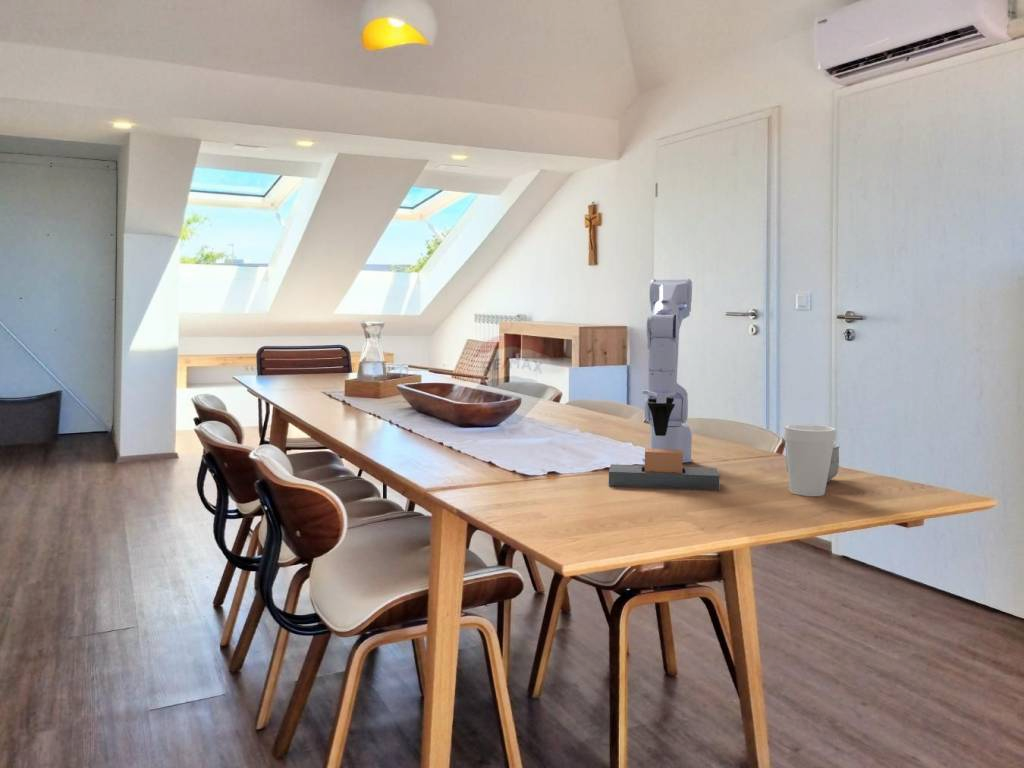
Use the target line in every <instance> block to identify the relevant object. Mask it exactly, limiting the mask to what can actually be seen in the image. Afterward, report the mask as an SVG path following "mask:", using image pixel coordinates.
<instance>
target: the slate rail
mask: <svg viewBox="0 0 1024 768" xmlns="http://www.w3.org/2000/svg"><path fill="white" fill-rule="evenodd" d="M609 466H610V467H609V471H608V487H624V488H645V489H646V488H647V489H671V490H672V489H673V490H675V489H676V490H694V491H695V490H696V491H699V490H700V491H716V492H717V491H720V473H719V471H718V468H716V467H699V466H698V467H695V466H694V467H692V466H691V467H690V466H683V469H682V473H676V472H656V471H651V472H645V464H643V465H642V464H641V465H638V464H637V465H636V464H616V463H615V464H613V463H612V464H610V465H609Z"/></svg>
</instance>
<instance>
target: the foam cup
mask: <svg viewBox="0 0 1024 768" xmlns="http://www.w3.org/2000/svg"><path fill="white" fill-rule="evenodd" d="M783 431H784V432H783V436H784V437H783V439H785V445H786V448H785V452H786V451H787V461H788V471H789V473H788V480H789V481H788V482H789V488H790V492H791V493H792V494H795V495H798V496H805V497H821V496H824V495H825V493H826V492H825V491H826V490H827V489H826V488H827V484H828V482H827V478H828V473H829V467H830V462H831V456H832V451H833V445H834V444H835V442H836V436H837V435H836V433H837V432H836V431H837V429H836V427H833V426H827V425H819V424H805V423H803V424H802V423H801V424H798V423H797V424H796V423H795V424H787V425H785V426H784V430H783ZM788 471H787V472H788Z"/></svg>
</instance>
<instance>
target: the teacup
mask: <svg viewBox="0 0 1024 768" xmlns="http://www.w3.org/2000/svg"><path fill="white" fill-rule="evenodd" d="M784 448H785V449H786V444H785V445H784ZM840 448H841V446H840V445H839V444H837V443H834V445H833V451H832V456H831V462H830V467H829V473H828V478H827V483H829V482H830V481H831V480H832V479H833V478H835V477H836V476H837V475H838V472H839V467H840V451H839V450H840ZM785 466H786V471H787V473H788V474H789V471H788V461H787V451H786V450H785Z"/></svg>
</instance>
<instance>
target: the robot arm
mask: <svg viewBox="0 0 1024 768" xmlns="http://www.w3.org/2000/svg"><path fill="white" fill-rule="evenodd" d="M692 298H693V281H692V280H691V279H690V278H687V279H655V278H653V279H652V280H651V281H650V283H649V304H650V312H651V316H647V319H646V330H645V331H646V338H647V349H648V358H647V359H648V366H647V367H648V368H647V369H648V370H647V371H648V372H647V389H642V392H641V393H642V394H644V395H645V399H644V400H645V401H644V420H645V421H646V422H647V423H649V425H650V433H649V434H650V436H649V437H650V438H649V439H650V443H649V449H675V450H682V451H683V463H691V462H692V463H693V462H694V459H693V458H692V444H693V443H692V442H693V441H692V439H693V438H692V437H693V436H692V431H691V429H690V426H688V425H687V424H686V423H687V422H688V413H689V412H688V411H689V399H688V398H689V396H688V392H687V390H686V389H685V388H684V387H683V386H682V385H680V384H679V383H677V382H678V364H679V362H678V361H679V344H680V342H679V341H680V329H681V326H682V322H683V320H685V319H686V318H689V317H690V313H691V311H692V302H693V300H692ZM641 460H643V461H645V457H641Z"/></svg>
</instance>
